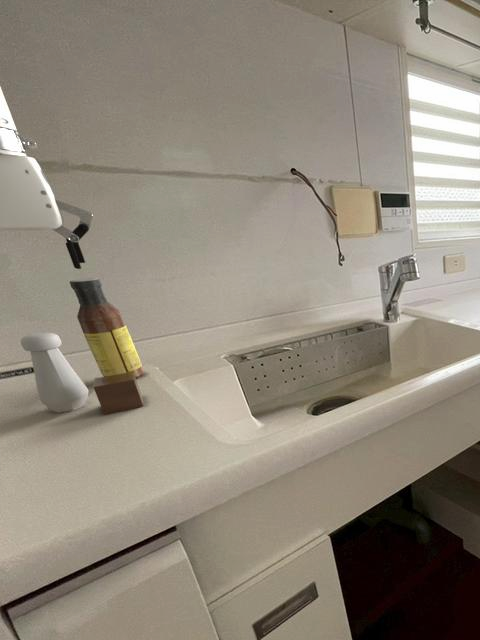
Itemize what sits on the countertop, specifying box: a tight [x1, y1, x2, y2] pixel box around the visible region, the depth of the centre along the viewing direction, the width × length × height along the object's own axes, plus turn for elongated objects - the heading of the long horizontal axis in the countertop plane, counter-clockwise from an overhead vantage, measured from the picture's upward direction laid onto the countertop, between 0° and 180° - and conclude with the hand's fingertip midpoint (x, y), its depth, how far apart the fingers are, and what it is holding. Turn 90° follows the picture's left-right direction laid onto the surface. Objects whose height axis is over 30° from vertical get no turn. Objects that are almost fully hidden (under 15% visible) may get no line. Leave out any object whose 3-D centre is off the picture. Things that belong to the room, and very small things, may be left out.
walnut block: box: [93, 372, 144, 415], centre depth 69 cm, size 5×5×5 cm
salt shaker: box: [19, 332, 89, 414], centre depth 67 cm, size 6×6×13 cm
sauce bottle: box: [69, 277, 144, 379], centre depth 78 cm, size 6×6×20 cm
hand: (34, 270), depth 62 cm, fingers open, 9 cm apart
